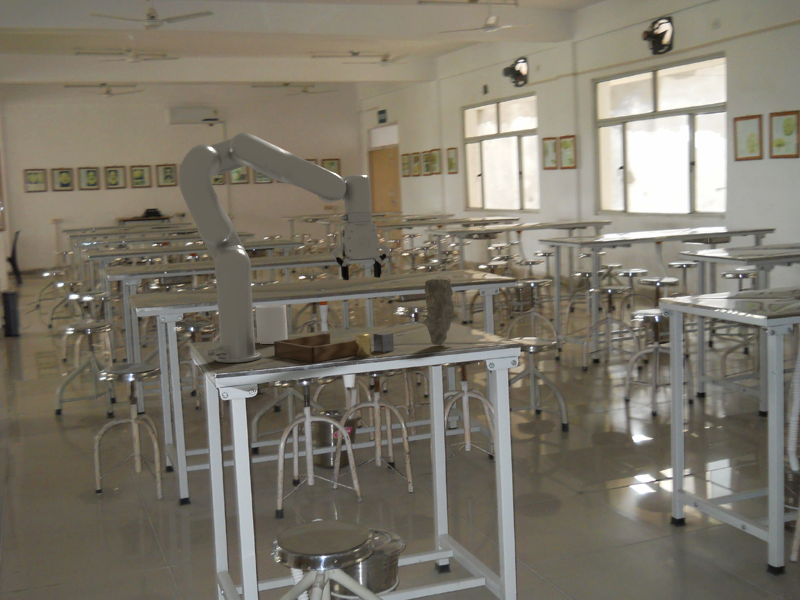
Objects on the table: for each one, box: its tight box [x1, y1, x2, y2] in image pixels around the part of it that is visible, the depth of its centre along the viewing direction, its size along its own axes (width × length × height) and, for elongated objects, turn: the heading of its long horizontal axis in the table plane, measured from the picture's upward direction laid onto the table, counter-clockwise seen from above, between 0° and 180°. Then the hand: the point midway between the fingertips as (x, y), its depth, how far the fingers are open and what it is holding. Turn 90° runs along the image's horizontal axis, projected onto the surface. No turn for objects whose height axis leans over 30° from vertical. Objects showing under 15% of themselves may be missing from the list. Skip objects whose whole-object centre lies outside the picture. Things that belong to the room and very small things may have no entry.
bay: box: [273, 332, 357, 363], centre depth 232 cm, size 19×18×4 cm
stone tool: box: [422, 276, 459, 346], centre depth 238 cm, size 12×6×20 cm, turn 118°
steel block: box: [373, 331, 395, 353], centre depth 233 cm, size 4×4×5 cm
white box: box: [255, 303, 288, 345], centre depth 257 cm, size 10×12×12 cm
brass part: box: [355, 333, 372, 358], centre depth 226 cm, size 4×4×6 cm
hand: (361, 278), depth 234 cm, fingers open, 9 cm apart
